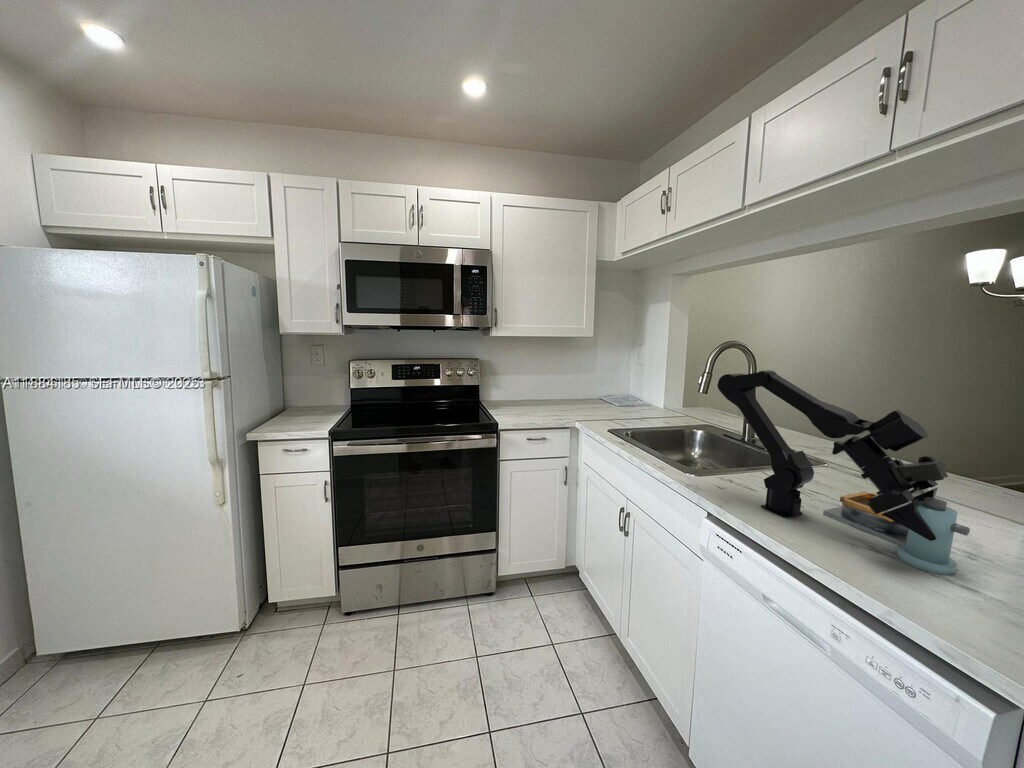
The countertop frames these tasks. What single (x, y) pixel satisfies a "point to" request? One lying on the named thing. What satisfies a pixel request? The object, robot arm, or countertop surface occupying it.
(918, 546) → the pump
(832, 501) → the countertop surface
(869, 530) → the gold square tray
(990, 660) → the countertop surface
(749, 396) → the robot arm
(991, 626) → the countertop surface
